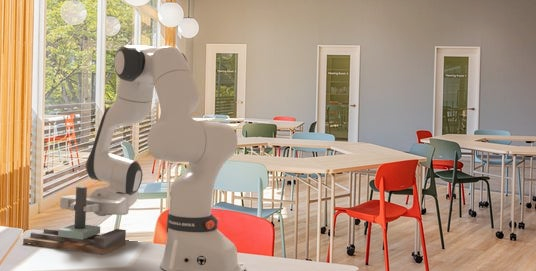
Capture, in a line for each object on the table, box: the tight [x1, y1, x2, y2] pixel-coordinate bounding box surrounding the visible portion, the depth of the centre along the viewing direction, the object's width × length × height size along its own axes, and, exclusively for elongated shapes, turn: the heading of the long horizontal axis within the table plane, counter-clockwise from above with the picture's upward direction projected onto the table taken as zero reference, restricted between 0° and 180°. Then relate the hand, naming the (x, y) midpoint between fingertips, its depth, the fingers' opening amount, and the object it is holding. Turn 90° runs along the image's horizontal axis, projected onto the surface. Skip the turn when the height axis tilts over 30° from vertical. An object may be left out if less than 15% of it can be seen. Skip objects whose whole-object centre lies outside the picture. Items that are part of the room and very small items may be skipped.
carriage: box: [57, 186, 101, 240], centre depth 159 cm, size 8×9×14 cm
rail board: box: [22, 227, 127, 255], centre depth 159 cm, size 26×12×4 cm, turn 76°
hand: (78, 208), depth 158 cm, fingers closed on carriage, 3 cm apart
